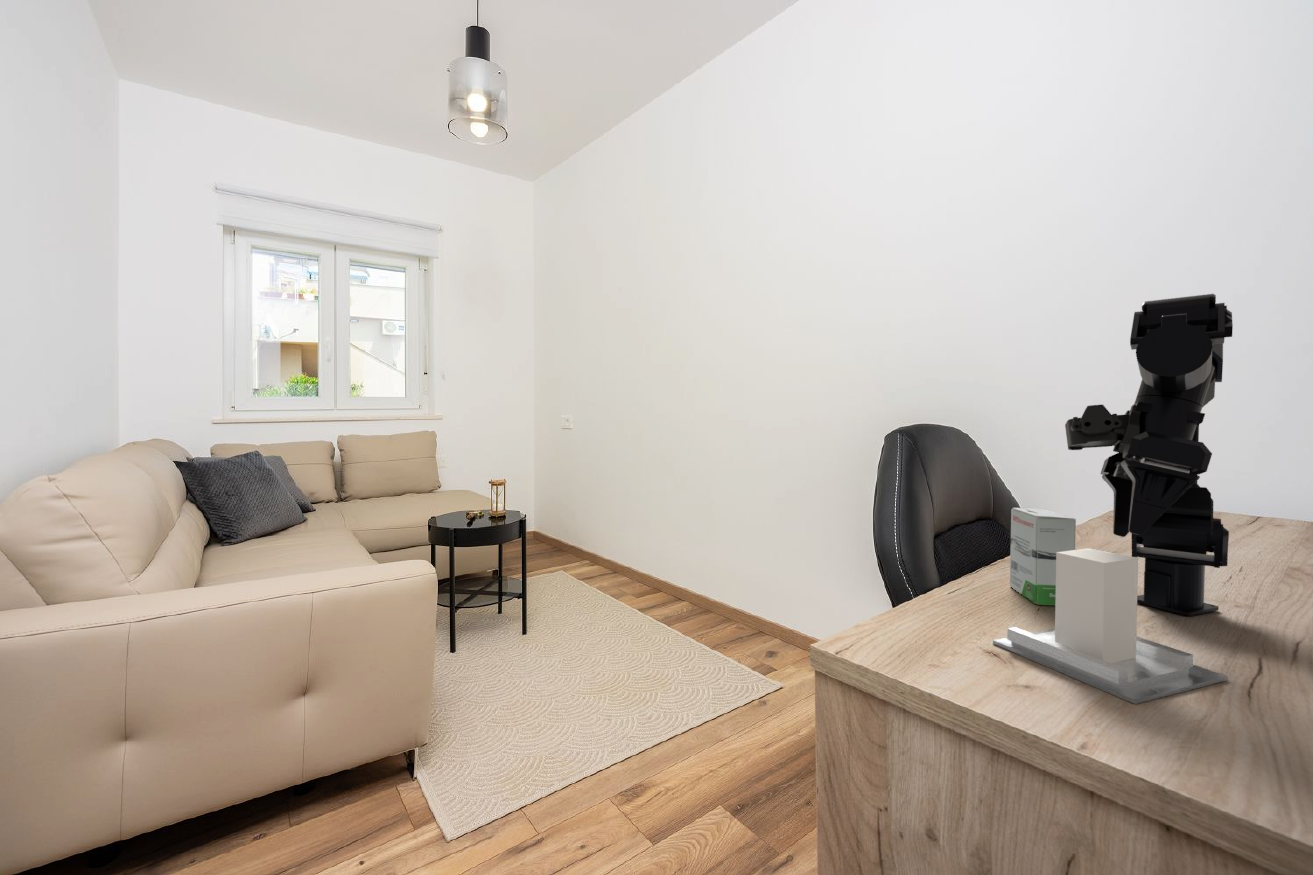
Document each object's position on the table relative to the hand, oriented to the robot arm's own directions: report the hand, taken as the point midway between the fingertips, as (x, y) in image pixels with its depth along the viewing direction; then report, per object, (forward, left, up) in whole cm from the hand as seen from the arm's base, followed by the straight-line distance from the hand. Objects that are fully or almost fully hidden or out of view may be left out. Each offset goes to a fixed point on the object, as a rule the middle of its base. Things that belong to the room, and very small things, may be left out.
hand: (1126, 534), depth 64 cm
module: (+10, +4, -11) cm, 15 cm away
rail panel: (+10, +4, -12) cm, 16 cm away
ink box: (-5, -13, -12) cm, 19 cm away
